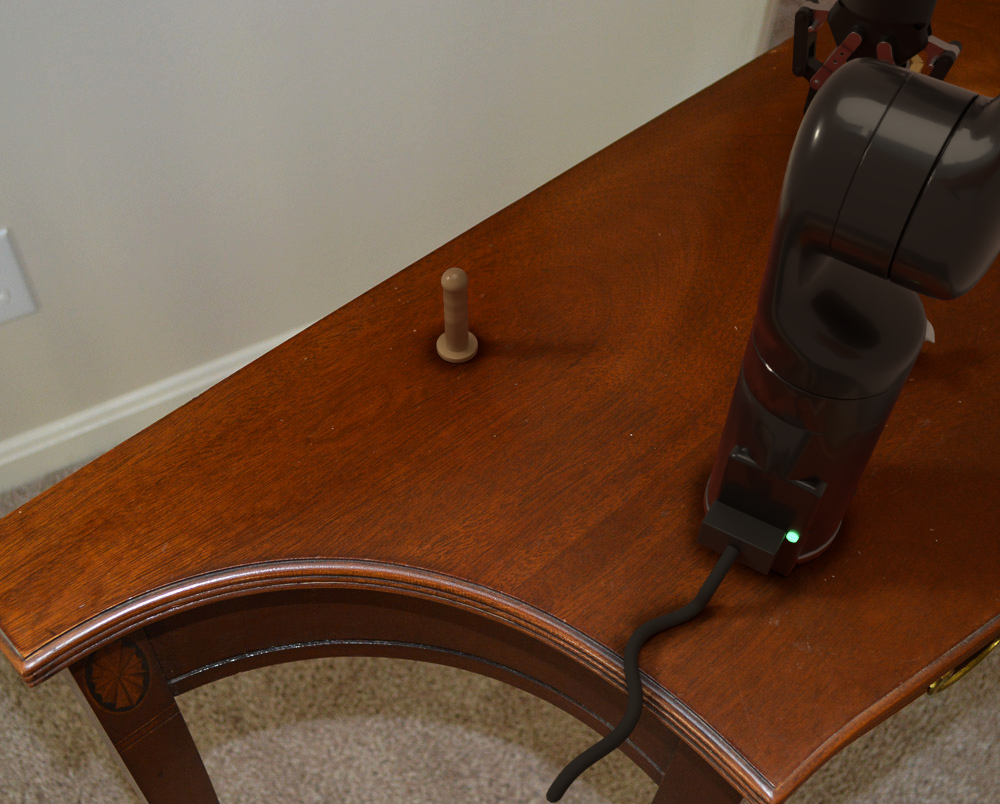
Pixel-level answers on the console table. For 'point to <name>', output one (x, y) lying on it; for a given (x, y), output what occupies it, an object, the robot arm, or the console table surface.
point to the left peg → (456, 319)
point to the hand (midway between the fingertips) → (846, 131)
